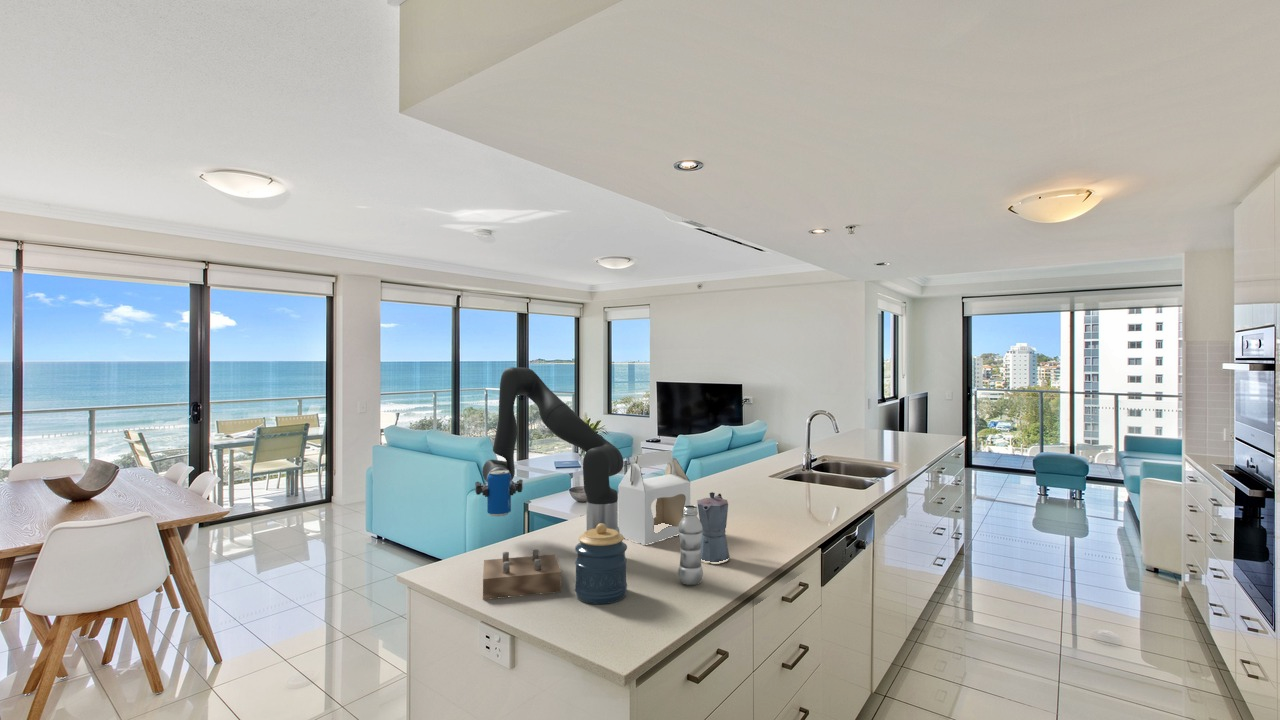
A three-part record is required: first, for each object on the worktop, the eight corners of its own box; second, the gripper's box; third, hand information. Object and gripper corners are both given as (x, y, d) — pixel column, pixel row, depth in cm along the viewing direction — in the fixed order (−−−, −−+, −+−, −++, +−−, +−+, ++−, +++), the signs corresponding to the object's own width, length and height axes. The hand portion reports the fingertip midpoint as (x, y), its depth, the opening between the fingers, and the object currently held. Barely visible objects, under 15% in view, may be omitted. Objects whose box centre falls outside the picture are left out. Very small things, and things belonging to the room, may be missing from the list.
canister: (607, 609, 131) (607, 534, 131) (564, 597, 138) (564, 525, 138) (637, 591, 142) (637, 521, 142) (595, 580, 149) (595, 514, 149)
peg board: (555, 572, 155) (555, 545, 155) (561, 591, 141) (561, 561, 141) (483, 578, 150) (484, 550, 150) (482, 599, 136) (483, 568, 136)
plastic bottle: (705, 580, 149) (705, 505, 149) (699, 589, 142) (699, 511, 143) (681, 577, 151) (681, 503, 151) (675, 586, 144) (675, 509, 145)
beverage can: (504, 517, 155) (504, 474, 155) (483, 516, 156) (483, 473, 156) (514, 511, 161) (514, 470, 161) (493, 510, 163) (493, 469, 163)
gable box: (663, 524, 202) (663, 447, 203) (691, 532, 193) (691, 451, 193) (617, 537, 187) (617, 453, 188) (644, 546, 178) (644, 458, 178)
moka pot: (690, 565, 160) (690, 495, 160) (705, 549, 174) (704, 485, 175) (723, 570, 156) (723, 498, 157) (735, 553, 171) (735, 487, 171)
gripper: (474, 469, 171) (472, 480, 155) (522, 467, 174) (525, 477, 158) (474, 494, 171) (472, 507, 155) (522, 491, 174) (525, 504, 158)
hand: (499, 492), depth 157 cm, fingers closed on beverage can, 6 cm apart
